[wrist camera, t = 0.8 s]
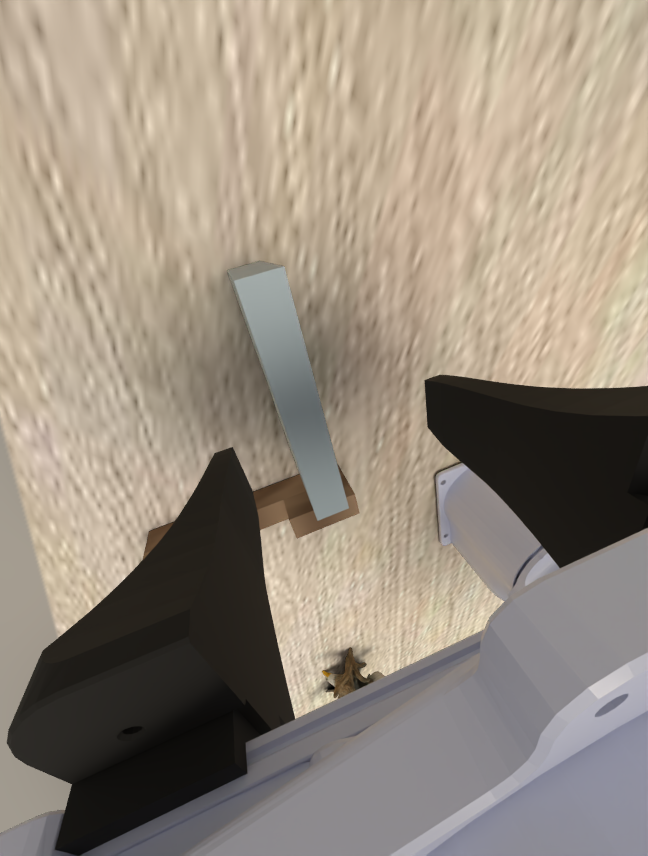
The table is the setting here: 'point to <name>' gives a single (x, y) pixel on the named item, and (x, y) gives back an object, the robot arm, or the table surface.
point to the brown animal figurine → (350, 677)
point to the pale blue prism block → (290, 379)
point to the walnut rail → (283, 509)
